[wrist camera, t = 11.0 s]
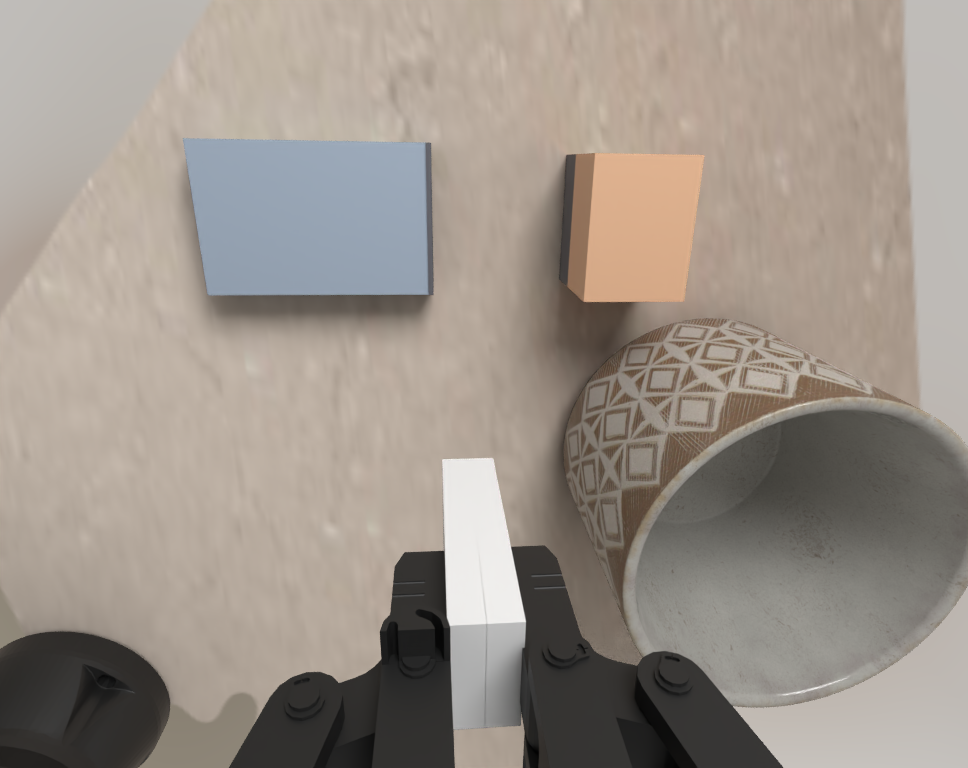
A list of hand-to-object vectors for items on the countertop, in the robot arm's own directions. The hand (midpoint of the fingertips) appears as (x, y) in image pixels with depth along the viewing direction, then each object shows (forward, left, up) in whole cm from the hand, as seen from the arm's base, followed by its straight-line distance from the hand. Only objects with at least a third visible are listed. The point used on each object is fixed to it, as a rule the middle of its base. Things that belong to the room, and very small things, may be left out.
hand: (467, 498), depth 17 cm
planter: (+18, -10, -25) cm, 32 cm away
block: (+11, +6, -24) cm, 27 cm away
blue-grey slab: (-8, +6, -24) cm, 26 cm away
